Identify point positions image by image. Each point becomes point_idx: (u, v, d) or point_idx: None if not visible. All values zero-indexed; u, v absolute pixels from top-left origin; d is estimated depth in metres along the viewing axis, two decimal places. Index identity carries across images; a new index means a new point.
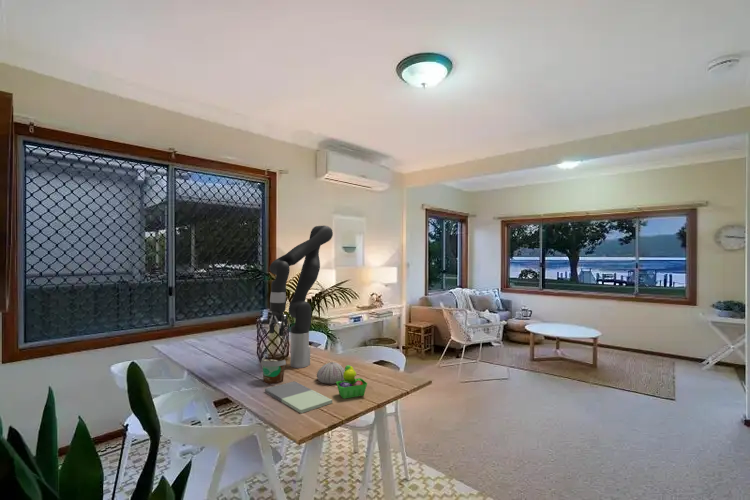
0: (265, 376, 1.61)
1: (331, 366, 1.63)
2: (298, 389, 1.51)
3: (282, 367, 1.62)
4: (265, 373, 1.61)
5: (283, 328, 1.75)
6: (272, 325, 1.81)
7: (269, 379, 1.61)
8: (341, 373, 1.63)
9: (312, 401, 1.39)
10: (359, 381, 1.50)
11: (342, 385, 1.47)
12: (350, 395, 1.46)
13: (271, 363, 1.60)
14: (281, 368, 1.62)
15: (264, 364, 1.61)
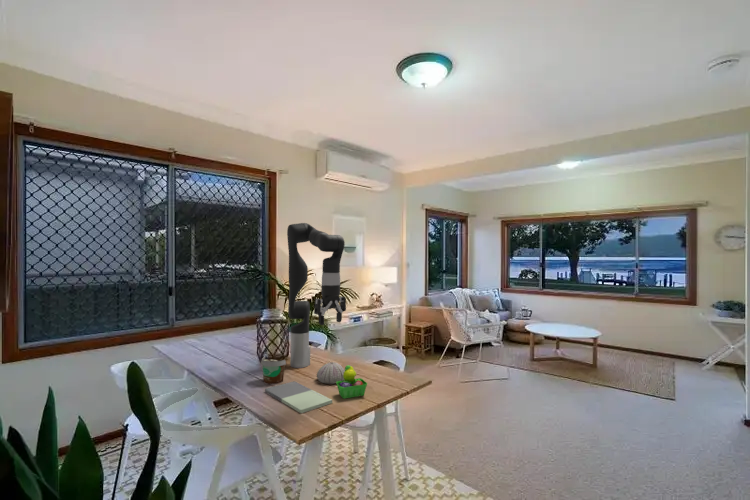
0: (265, 376, 1.61)
1: (331, 366, 1.63)
2: (298, 389, 1.51)
3: (282, 367, 1.62)
4: (265, 373, 1.61)
5: None
6: None
7: (269, 379, 1.61)
8: (341, 373, 1.63)
9: (312, 401, 1.39)
10: (359, 381, 1.50)
11: (342, 385, 1.47)
12: (350, 395, 1.46)
13: (271, 363, 1.60)
14: (281, 368, 1.62)
15: (264, 364, 1.61)
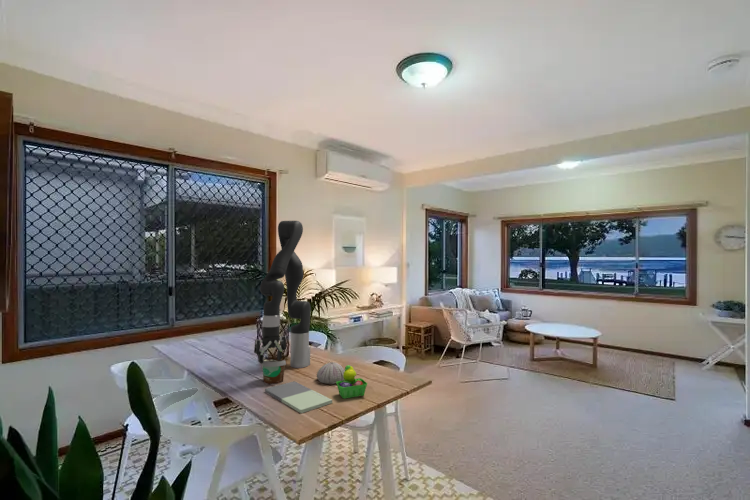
0: (265, 376, 1.61)
1: (331, 366, 1.63)
2: (298, 389, 1.51)
3: (282, 367, 1.62)
4: (265, 373, 1.61)
5: None
6: None
7: (269, 379, 1.61)
8: (341, 373, 1.63)
9: (312, 401, 1.39)
10: (359, 381, 1.50)
11: (342, 385, 1.47)
12: (350, 395, 1.46)
13: (271, 363, 1.60)
14: (281, 368, 1.62)
15: (264, 364, 1.61)
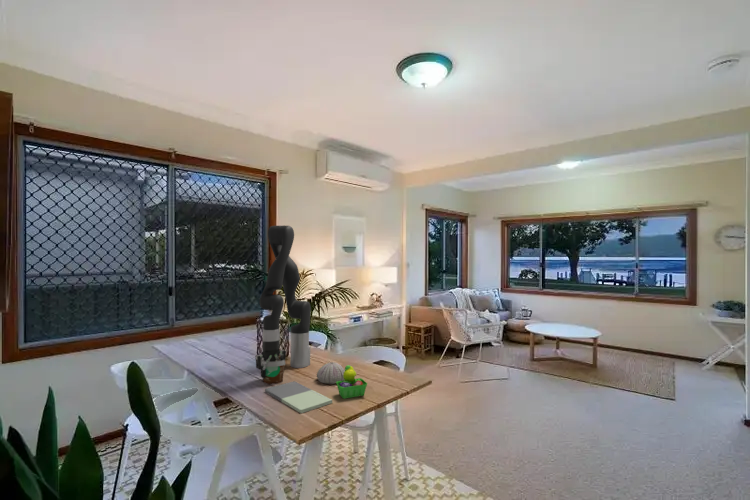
0: None
1: (331, 366, 1.63)
2: (298, 389, 1.51)
3: (281, 367, 1.62)
4: None
5: None
6: None
7: (268, 379, 1.60)
8: (341, 373, 1.63)
9: (312, 401, 1.39)
10: (359, 381, 1.50)
11: (342, 385, 1.47)
12: (350, 395, 1.46)
13: (270, 363, 1.60)
14: (281, 368, 1.62)
15: (263, 364, 1.61)
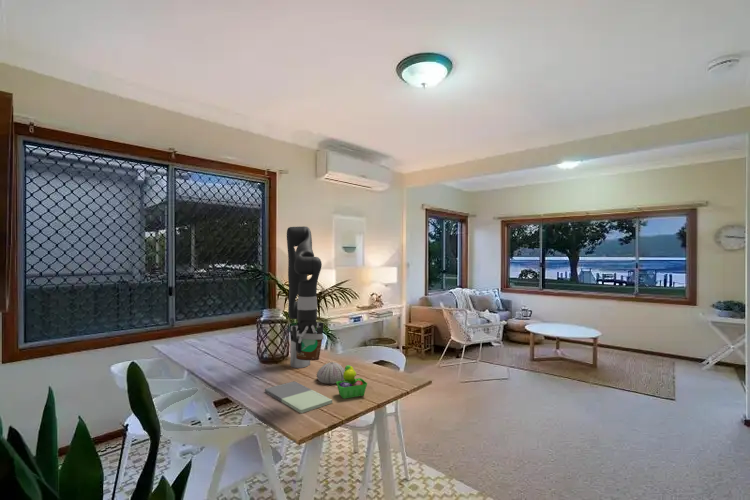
0: None
1: (331, 366, 1.63)
2: (298, 389, 1.51)
3: (319, 342, 1.40)
4: None
5: None
6: None
7: (303, 354, 1.38)
8: (341, 373, 1.63)
9: (312, 401, 1.39)
10: (359, 381, 1.50)
11: (342, 385, 1.47)
12: (350, 395, 1.46)
13: (307, 335, 1.38)
14: (318, 343, 1.40)
15: (299, 336, 1.39)
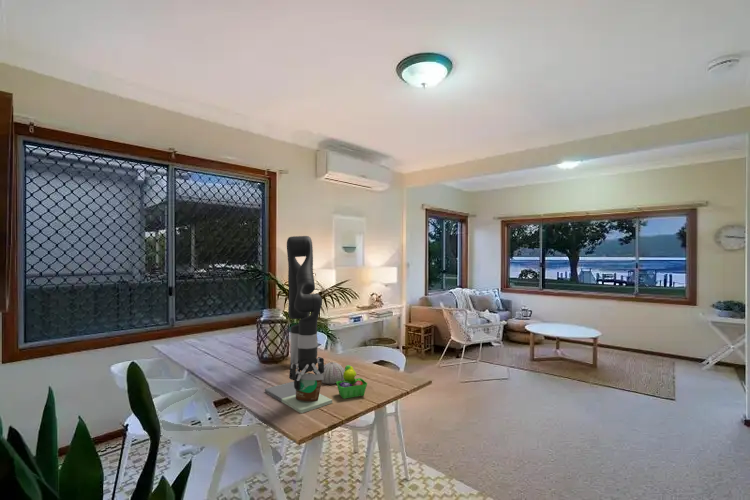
0: (298, 391, 1.39)
1: (331, 366, 1.63)
2: None
3: (319, 382, 1.40)
4: None
5: None
6: None
7: (303, 395, 1.37)
8: (341, 373, 1.63)
9: (312, 401, 1.39)
10: (359, 381, 1.50)
11: (342, 385, 1.47)
12: (350, 395, 1.46)
13: (307, 376, 1.38)
14: (318, 383, 1.39)
15: None
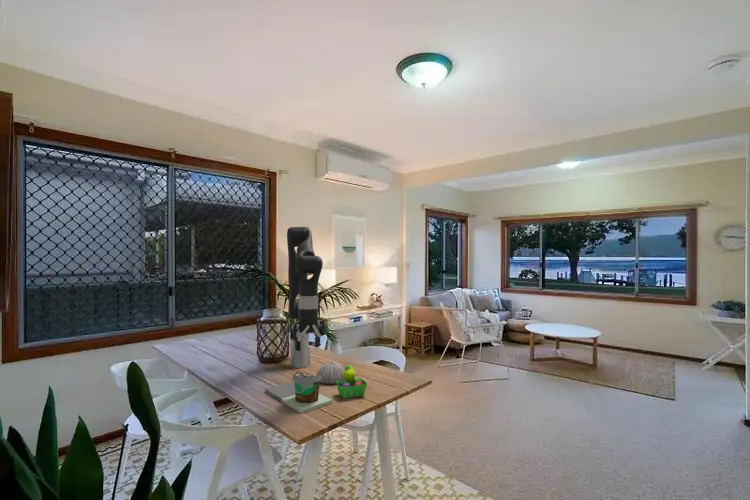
0: (297, 394, 1.38)
1: (331, 366, 1.63)
2: None
3: (317, 384, 1.39)
4: (297, 390, 1.38)
5: None
6: None
7: (302, 397, 1.37)
8: (341, 373, 1.63)
9: None
10: (359, 381, 1.50)
11: (342, 385, 1.47)
12: (350, 395, 1.46)
13: (304, 379, 1.36)
14: (316, 385, 1.38)
15: (296, 380, 1.37)
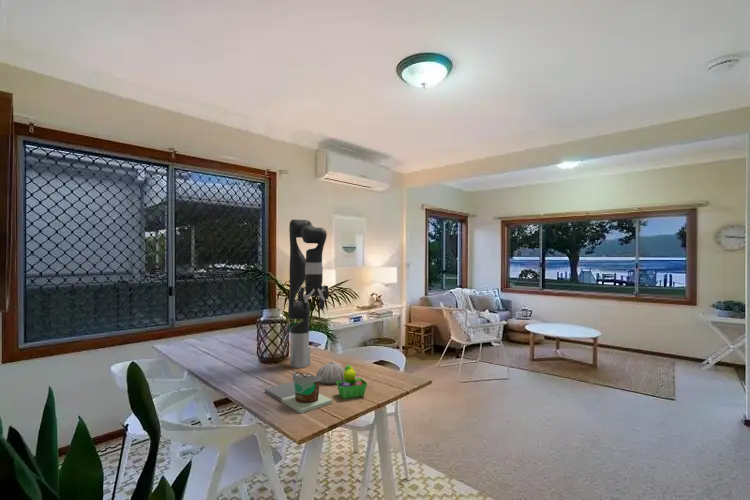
0: (297, 394, 1.38)
1: (331, 366, 1.63)
2: None
3: (317, 384, 1.39)
4: (297, 390, 1.38)
5: None
6: None
7: (302, 397, 1.37)
8: (341, 373, 1.63)
9: None
10: (359, 381, 1.50)
11: (342, 385, 1.47)
12: (350, 395, 1.46)
13: (304, 379, 1.36)
14: (316, 385, 1.38)
15: (296, 380, 1.37)
